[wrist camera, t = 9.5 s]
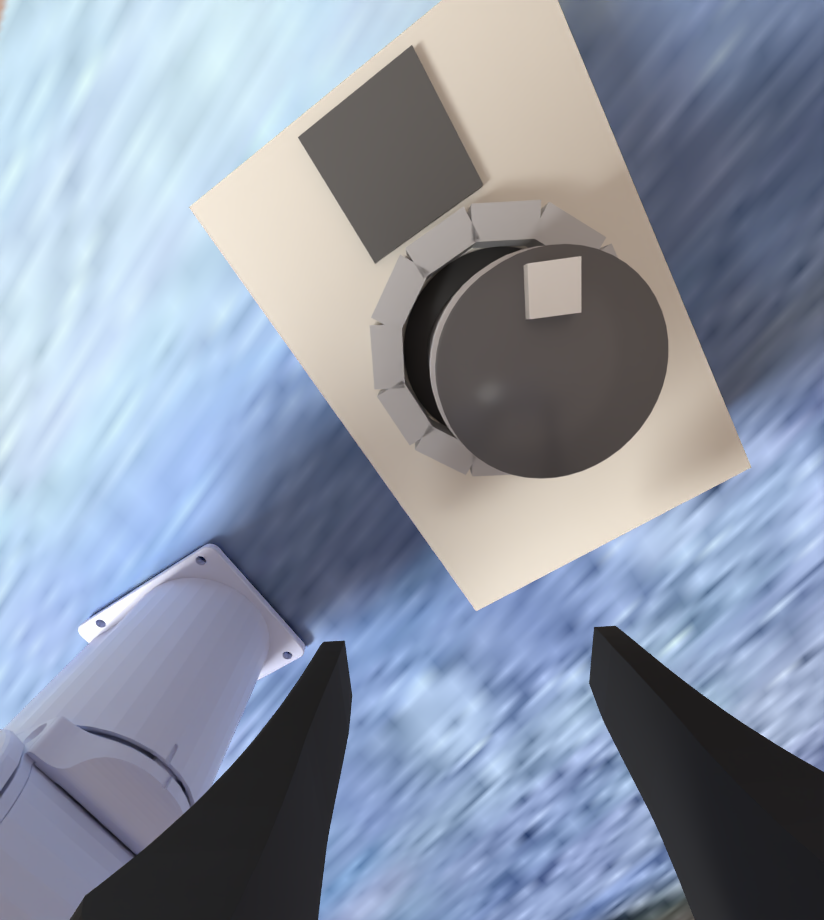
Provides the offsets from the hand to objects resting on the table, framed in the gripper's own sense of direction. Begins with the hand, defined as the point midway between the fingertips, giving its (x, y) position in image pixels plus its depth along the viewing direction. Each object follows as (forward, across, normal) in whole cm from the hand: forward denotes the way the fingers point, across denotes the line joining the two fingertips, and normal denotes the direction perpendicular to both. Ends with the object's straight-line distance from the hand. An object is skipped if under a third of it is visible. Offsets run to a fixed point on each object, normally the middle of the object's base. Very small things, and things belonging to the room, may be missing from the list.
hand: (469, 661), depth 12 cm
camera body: (+9, -2, -8) cm, 13 cm away
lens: (+5, -2, -8) cm, 10 cm away
